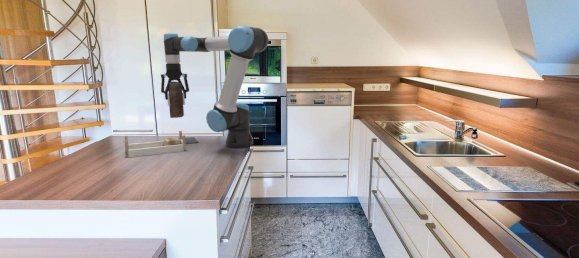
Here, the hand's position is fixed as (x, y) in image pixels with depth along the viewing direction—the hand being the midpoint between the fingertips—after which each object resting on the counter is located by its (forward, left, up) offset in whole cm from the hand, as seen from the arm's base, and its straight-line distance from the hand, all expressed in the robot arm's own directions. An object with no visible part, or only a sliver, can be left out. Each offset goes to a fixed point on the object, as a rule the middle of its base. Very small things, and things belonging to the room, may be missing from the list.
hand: (176, 105), depth 183 cm
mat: (-3, -2, -22) cm, 22 cm away
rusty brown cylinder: (0, 0, -7) cm, 7 cm away
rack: (+13, +13, -22) cm, 28 cm away
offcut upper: (+5, +12, -19) cm, 23 cm away
